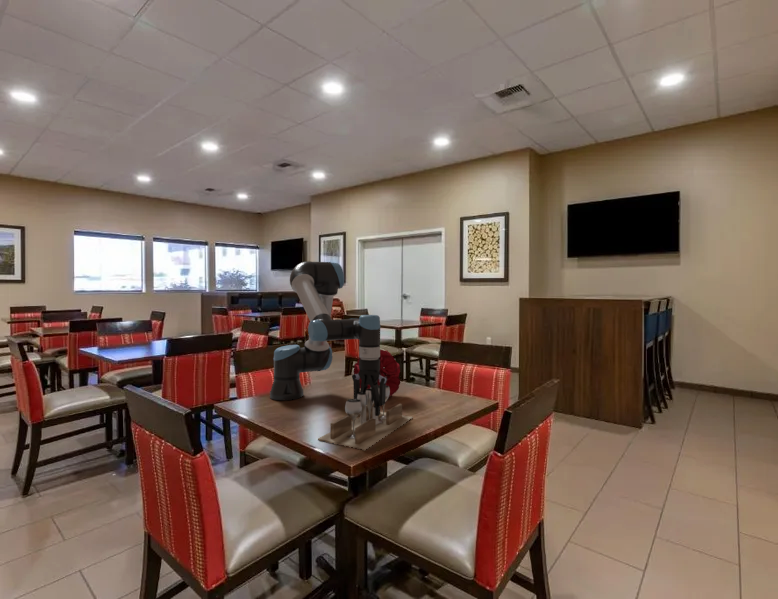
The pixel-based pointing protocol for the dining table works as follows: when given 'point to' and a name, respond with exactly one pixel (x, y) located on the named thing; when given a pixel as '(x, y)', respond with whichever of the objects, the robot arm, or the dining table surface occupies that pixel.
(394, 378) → the bouquet
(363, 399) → the goblet set
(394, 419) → the glass rack
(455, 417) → the dining table surface
